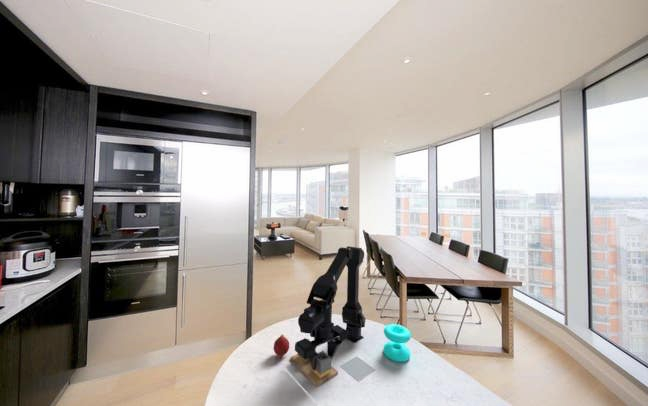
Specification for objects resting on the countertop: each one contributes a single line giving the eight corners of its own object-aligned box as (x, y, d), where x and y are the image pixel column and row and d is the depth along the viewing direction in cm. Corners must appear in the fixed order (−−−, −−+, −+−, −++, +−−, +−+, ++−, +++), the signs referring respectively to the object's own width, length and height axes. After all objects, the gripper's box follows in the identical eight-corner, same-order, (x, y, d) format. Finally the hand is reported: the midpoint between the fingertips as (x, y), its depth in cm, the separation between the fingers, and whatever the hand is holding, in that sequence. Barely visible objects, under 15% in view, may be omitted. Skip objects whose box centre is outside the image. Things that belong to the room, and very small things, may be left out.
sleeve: (330, 372, 77) (331, 357, 77) (320, 378, 75) (320, 362, 75) (322, 365, 81) (322, 350, 81) (312, 370, 78) (312, 355, 78)
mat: (356, 357, 87) (356, 356, 87) (375, 370, 80) (375, 369, 80) (339, 367, 82) (339, 366, 82) (358, 382, 75) (358, 381, 75)
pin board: (310, 351, 90) (310, 335, 90) (338, 375, 78) (338, 356, 78) (290, 360, 84) (290, 343, 84) (317, 388, 72) (317, 368, 72)
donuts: (399, 321, 96) (416, 334, 86) (399, 345, 96) (415, 361, 86) (379, 324, 93) (394, 338, 83) (378, 349, 93) (393, 366, 83)
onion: (285, 362, 83) (286, 340, 83) (270, 360, 84) (271, 338, 84) (291, 352, 89) (291, 331, 89) (277, 350, 90) (277, 329, 90)
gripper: (328, 303, 90) (327, 343, 90) (286, 317, 78) (285, 363, 78) (348, 314, 81) (347, 359, 81) (305, 332, 69) (304, 384, 69)
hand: (321, 365), depth 78 cm, fingers open, 6 cm apart
